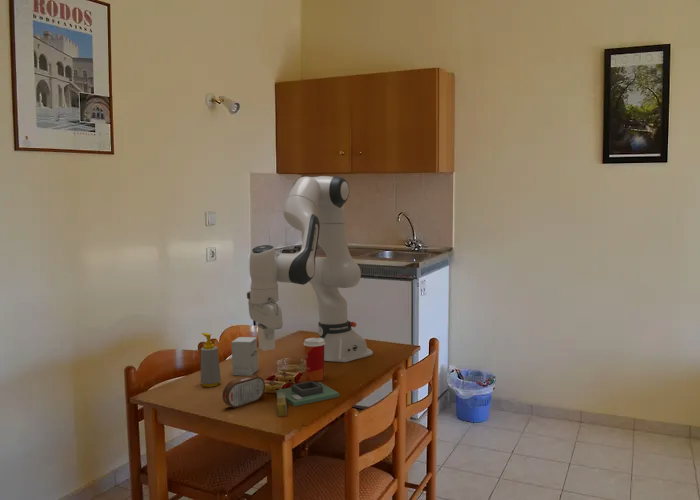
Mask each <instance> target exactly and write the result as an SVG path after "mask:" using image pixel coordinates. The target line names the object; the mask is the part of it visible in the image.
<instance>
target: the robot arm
mask: <svg viewBox="0 0 700 500" xmlns="http://www.w3.org/2000/svg"><path fill="white" fill-rule="evenodd" d="M349 186H350V185H349V182H348V181H347V180H346V178H345V177H341V176H338V175H337V176H328V175H321V176H302V177H299V178H298V179H296V180H295V182H294V183H293V185H292V187H291V189H290V192H289V194H288V196H287V198H286V201H285V204H284V205H283V206H284V207H283V217H284V219H285V221H286V222H287V223H288V224H289V226H291V228H294V229H295V230H298V231H300V232H302V233H303V237H302V241H301V243H302V244H301V248H300V251H299V252H295V253H285V252H283V253H282V252H279V251H277V250H276V249H275V247H274V246H273V245H271V244H264V245H262V244H261V245H258V246H255V247H253V248H252V249H251V251H250V256H249V275H250V279H251V283H250V290H249V291H247V292H246V299H248V301H247V304H248V313H249V314H248V315H249V317H250V320H252V321H253V322H256V323H257V325H258V324H262V325H264V326H266V327H267V334H266V339H268V340H273V333H274V330H275V331H276V330H280V329H282V328H283V326H284V324H283V313H282V308H281V305H280V304H278V302H279V283H292V284H296V285H303V286H305V285H306V284H308V283H309V284H310V285H311V286H312V288H313V291H314V293H315V296H316V299H317V303H318V317H319V321H318V328H317V329H318V336H319V337H318V338H322V339H324V342H325V344H324V362H338V363H347V362H352V361H354V360H359V359H362V358H366V357H370V356H372V355H373V353H374V352H373V350H371V349H370V348H368V346H367V341H366V340H365V338H364V337H363V336H362V335H361V334H359V333H358V332H356V331H354V330H353V328H356V327H357V322H356V321H350V320H348V303H347V302H348V301H347V300H346V298H345V297H344V296H343V295H342V294H341V293H340V290H339V289H348V288H353V287H355V286H357V285H358V284H359V282H360V281H361V278H362V277H361V276H362V272H361V268H360V266H359V264H358V263H356V261H355V260H354V258H353V257H352V255H351V253H350V250H349V248H348V247H349V246H348V242H347V231H346V228H347V227H346V213H345V212H346V211H345V207H344V206H345V205H344V204H346V202H347V201H348V199H349V197H350V187H349ZM316 213H317V214H316ZM318 246H319V247H320V248H321V249H322V250H323V252H324V254H325V256H326V257H316V256H317V251H318V250H317V249H318ZM278 282H279V283H278Z"/></svg>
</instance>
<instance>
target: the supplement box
mask: <svg viewBox="0 0 700 500" xmlns="http://www.w3.org/2000/svg"><path fill="white" fill-rule="evenodd" d="M257 339H258V338H257V337H255V336H238V337H237V338H235V339H234V340H232V341H231V359H232V360H231V361H232V364H231V365H232V375H233V376H242V377H246V376H250V375H255V373H257V372H258V370H259V364H258V340H257Z"/></svg>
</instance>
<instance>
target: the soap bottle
mask: <svg viewBox="0 0 700 500" xmlns="http://www.w3.org/2000/svg"><path fill="white" fill-rule="evenodd" d="M201 335H203V336H204V337H205V338H206V340H207V341H205V344H204V345H203V346H202V347H201V348H200V383H201V384H202V386H203V387H204V388H212V387H213V388H214V387H217V386H219V384H220V382H221V381H222V380H221V379H222V377H221V370H220V360H219V359H220V358H219V349H218V346H216V345H215V344H214V343H213V341H212V340H211V336H213V334H211V333H206V332H201Z"/></svg>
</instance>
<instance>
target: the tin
mask: <svg viewBox="0 0 700 500" xmlns="http://www.w3.org/2000/svg"><path fill="white" fill-rule="evenodd" d="M265 390H266V382H265V380H264V379H263V378H262V377H260V376H259V375H257V374H253V375H250V376H242V377H239V378H236V379H232V380H230V381H229V382H228V383H226V385H225V386H224V388H223V391H222V400H223V402H224V404H225V405H226V406H228V407H231V408H239V407H242V406H245V405H246V406H247V405H249V404H252V403H255V402H258V401H259V400H261V398H262V397H263V396H264V394H265Z"/></svg>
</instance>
